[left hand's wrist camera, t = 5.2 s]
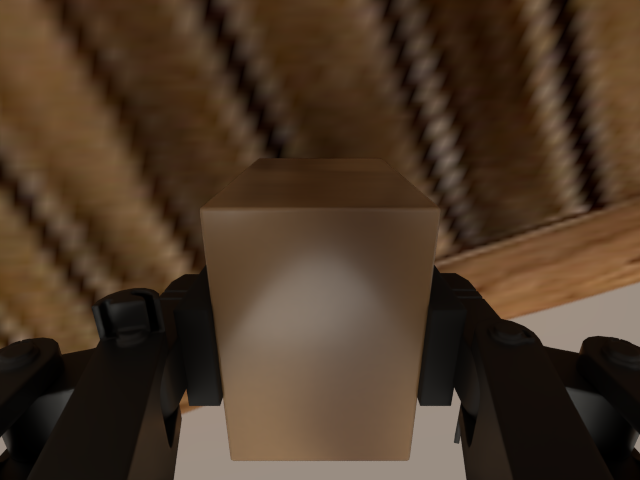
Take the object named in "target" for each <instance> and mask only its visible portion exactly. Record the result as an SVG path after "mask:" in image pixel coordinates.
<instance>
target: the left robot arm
mask: <svg viewBox="0 0 640 480" xmlns="http://www.w3.org/2000/svg"><path fill="white" fill-rule="evenodd" d="M92 311H93V315H94V318H95V322H96V326H97V330H98V333H99V337H100V341H99V343H98V345H97V347H96V348H93V349H89V350H83V351H78V352H73V353H68V354H63V355H62V354H61V351H60V348H59V345H58V343H57V342H56V341H55V340H53V339H49V338H34V339H26V340H22V341H18V342H15V343H12V344H10V345H9V346H7V347H4V348H2V349H0V437H1V436H2V438H3V440H4V442H5V445H6V447H7V449H6V450H5V451H4V452H3V453H2V455H1V456H0V480H174V473H175V465H176V458H177V450H178V443H179V435H180V428H181V420H182V418H181V411H180V405H179V403H180V401H181V399H182V396H183V394H184V392H185V390H186V389H187V395H188V401H189V406H220V404H221V401H222V398H223V392H222V384H221V376H220V368H219V360H218V352H217V344H216V336H215V328H214V320H213V312H212V304H211V297H210V289H209V281H208V273H207V265H206V266H205V267H204V268H203V270H202V271H201V272H200V274H185V275H183V276H181V277H179V278H178V279H176V280H174V281H173V282H171V284H170V285H169V286H168V287H167V288H166V290H165V292H163V293H162V294H161V295H160V297H159V293H157V292H156V291H154V290H152V289H147V288H133V289H128V290H122V291H119V292H116V293H113V294H110V295H108V296H106V297H104V298H102V299H100V300H98V301H97V302H96V303H95V304H94V305H93V306H92ZM454 388H455V390H456V392H457V394H458V396H459V398H460V400H461V405H460V411H459V416H458V422H457V427H456V433H455V439H454V443H458V444H459V441H460V436H461V442H462V449H463V457H464V464H465V472H466V479H467V480H640V453H639V452H638V451H637V450H636V449H635V448H634V445H635V443H636V441H637V439H638V436H639V434H640V347H638V346H636V345H634V344H632V343H630V342H628V341H625V340H622V339H621V340H619V339H618V338H613V337H603V336H594V337H588V338H587V339H585V340H584V341H583V343H582V346H581V349H580V352H579V353H576V352H571V351H565V350H560V349H555V348H550V347H546V346H543V345H542V343H541V341H540V339H539V338H538V337H537V336H536V335H535V333H534V332H532V331H531V330H529V329H528V328H526V327H525V326H523V325H520V324H518V323H515V322H513V321H508V320H504V319H501V318H500V317H499V316H498V315H497V314H496V312H495V311H494V310H493V309H492V308H491V307H490V305H489V304H488V303H487V302H486V301H485V299H482V296H481V295H480V294H479V292H478V291H476V289H475V288H474V287H473V285H472V284H471V283H470V282H469V281H468V280H466V279H465V278H463V277H461V276H460V275H458V274H456V273H440V272H439V271H438V269H437V268H436V267H435V265H434V268H433V276H432V284H431V292H430V300H429V307H428V315H427V323H426V331H425V339H424V347H423V355H422V363H421V370H420V378H419V386H418V394H417V398H418V400H419V403H420V406H451V402H452V396H453V390H454Z"/></svg>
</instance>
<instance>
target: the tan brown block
mask: <svg viewBox="0 0 640 480" xmlns="http://www.w3.org/2000/svg"><path fill="white" fill-rule="evenodd" d="M440 213H441V210H440V208H439V207H438V206H437V205H436V204H435V203H433V202H432V201H431V200H430V199H429V198H428V197H426V196H425V195H424V194H423V193H422V192H420V191H419V190H418V189H417V188H416V187H415V186H413V185H412V184H411V183H410V182H409V181H407V180H406V179H405V178H404V177H403V176H402V175H400V174H399V173H398V172H397V171H396V170H394V169H393V168H392V167H391V166H390V165H388V164H387V163H386V162H385V161H384V160H383V159H381V158H260V159H258V160H256V161H255V162H254V163H253V164H252V165H251V166H249V167H248V168H247V169H246V170H245V171H243V172H242V173H241V174H240V175H239V176H238V177H236V178H235V179H234V180H233V181H232V182H230V183H229V184H228V185H227V186H226V187H225V188H223V189H222V190H221V191H220V192H219V193H218V194H216V195H215V196H214V197H213V198H212V199H210V200H209V201H208V202H207V203H206V204H205V205H203V206H202V207H201V208H200V218H201V226H202V234H203V242H204V250H205V258H206V265H207V273H208V281H209V289H210V297H211V304H212V312H213V320H214V328H215V336H216V344H217V352H218V360H219V368H220V376H221V384H222V392H223V400H224V408H225V416H226V424H227V432H228V440H229V448H230V456H231V460H233V461H407V460H409V457H410V450H411V443H412V435H413V427H414V419H415V411H416V403H417V394H418V386H419V378H420V370H421V363H422V355H423V347H424V339H425V331H426V323H427V315H428V307H429V300H430V292H431V284H432V276H433V268H434V260H435V253H436V245H437V237H438V229H439V221H440Z"/></svg>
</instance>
